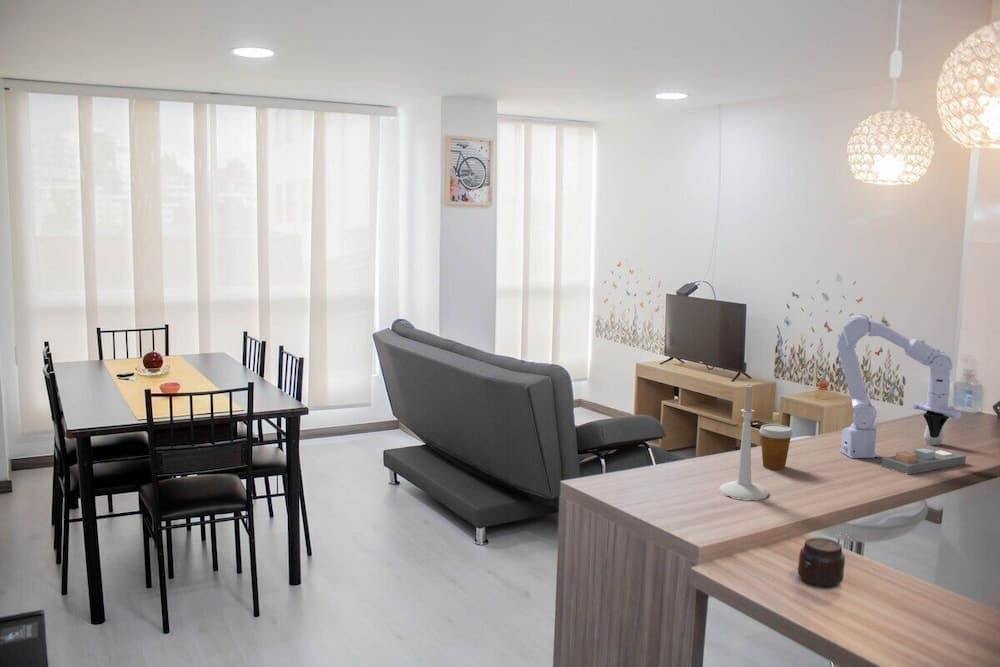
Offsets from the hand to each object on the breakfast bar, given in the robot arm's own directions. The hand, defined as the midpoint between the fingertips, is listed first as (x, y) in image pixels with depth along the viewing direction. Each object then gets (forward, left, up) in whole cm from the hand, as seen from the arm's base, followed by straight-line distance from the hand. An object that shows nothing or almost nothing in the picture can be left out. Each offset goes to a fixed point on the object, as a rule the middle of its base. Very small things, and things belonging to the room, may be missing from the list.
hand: (934, 436), depth 252 cm
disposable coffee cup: (-50, +1, -9) cm, 50 cm away
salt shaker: (+13, +21, -9) cm, 26 cm away
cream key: (+4, +1, -8) cm, 9 cm away
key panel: (-4, -1, -8) cm, 9 cm away
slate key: (-4, -1, -6) cm, 7 cm away
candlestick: (-68, -21, -9) cm, 71 cm away
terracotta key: (-11, -4, -6) cm, 13 cm away
